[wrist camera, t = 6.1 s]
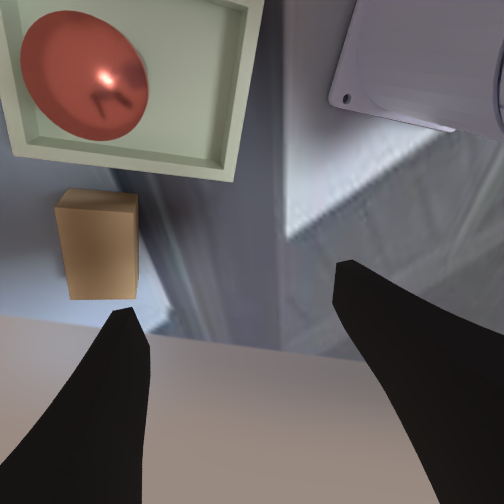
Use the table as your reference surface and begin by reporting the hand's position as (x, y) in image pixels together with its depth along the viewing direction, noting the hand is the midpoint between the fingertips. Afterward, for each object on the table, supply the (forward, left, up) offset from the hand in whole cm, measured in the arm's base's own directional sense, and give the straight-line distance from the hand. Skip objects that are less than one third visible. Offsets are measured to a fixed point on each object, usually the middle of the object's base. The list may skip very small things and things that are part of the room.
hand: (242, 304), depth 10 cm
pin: (+5, -6, -9) cm, 12 cm away
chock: (+6, +3, -10) cm, 12 cm away
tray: (+4, -6, -10) cm, 12 cm away
